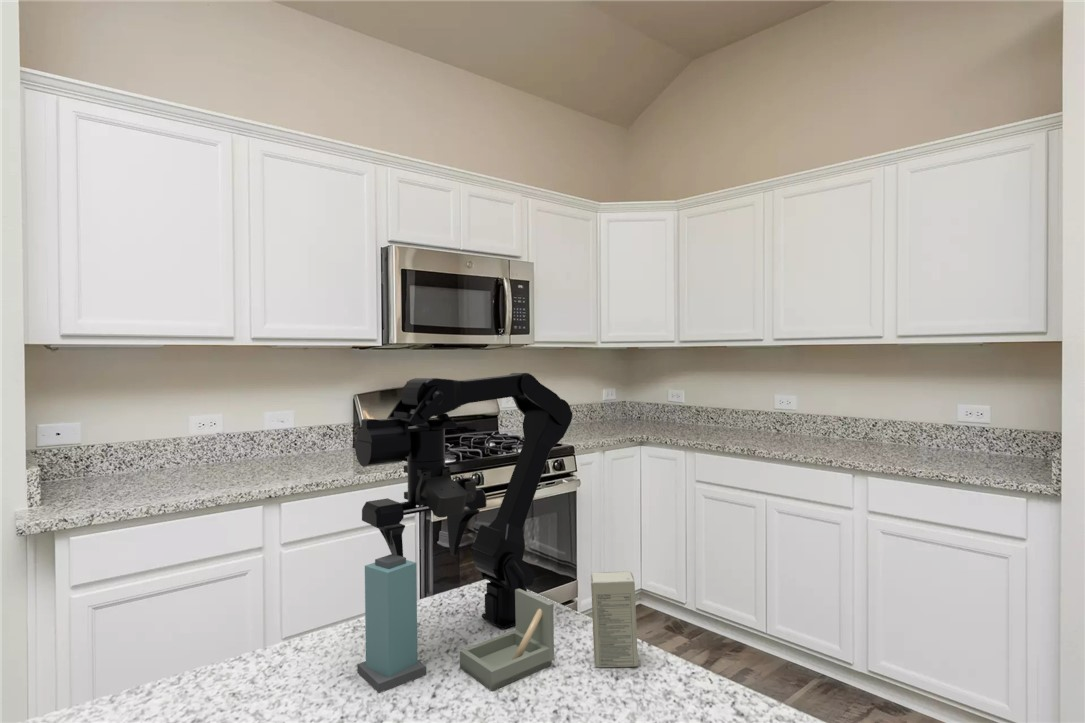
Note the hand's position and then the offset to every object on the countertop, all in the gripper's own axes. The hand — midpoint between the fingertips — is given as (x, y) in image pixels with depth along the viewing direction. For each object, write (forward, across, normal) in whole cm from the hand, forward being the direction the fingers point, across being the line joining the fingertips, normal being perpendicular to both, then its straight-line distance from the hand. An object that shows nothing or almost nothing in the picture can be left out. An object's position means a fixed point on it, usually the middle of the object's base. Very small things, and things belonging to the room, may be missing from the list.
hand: (427, 561), depth 92 cm
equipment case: (+13, +5, -13) cm, 19 cm away
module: (+12, -8, -4) cm, 15 cm away
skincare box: (+13, +18, -22) cm, 31 cm away
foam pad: (+13, -8, -4) cm, 16 cm away
